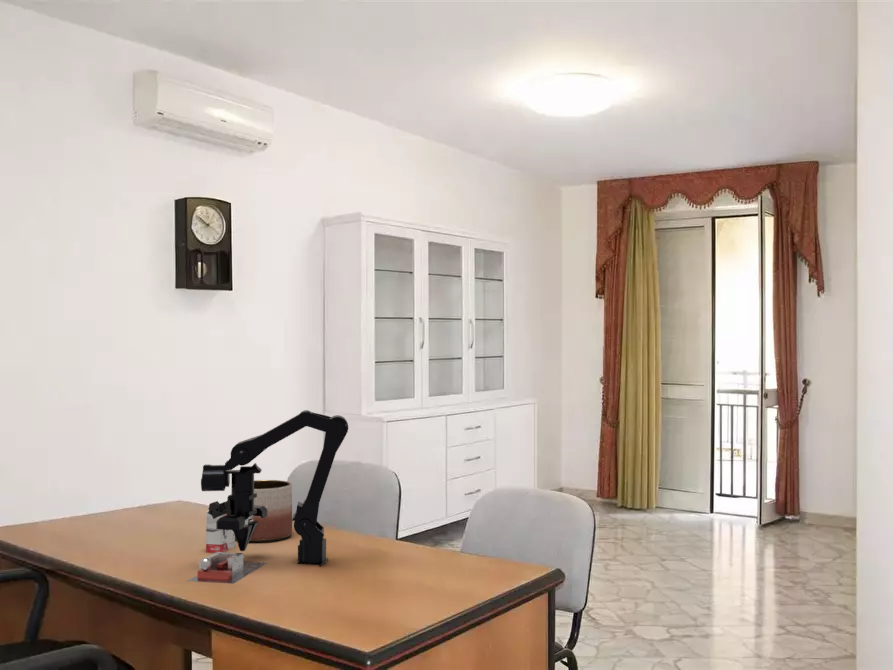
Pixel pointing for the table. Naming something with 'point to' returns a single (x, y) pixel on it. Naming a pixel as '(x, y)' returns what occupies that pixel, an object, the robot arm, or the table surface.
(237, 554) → the block
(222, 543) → the ink box
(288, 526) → the planter
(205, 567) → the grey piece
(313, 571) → the table surface
